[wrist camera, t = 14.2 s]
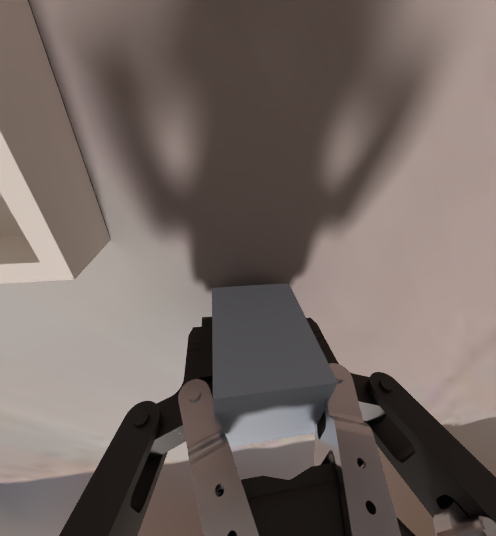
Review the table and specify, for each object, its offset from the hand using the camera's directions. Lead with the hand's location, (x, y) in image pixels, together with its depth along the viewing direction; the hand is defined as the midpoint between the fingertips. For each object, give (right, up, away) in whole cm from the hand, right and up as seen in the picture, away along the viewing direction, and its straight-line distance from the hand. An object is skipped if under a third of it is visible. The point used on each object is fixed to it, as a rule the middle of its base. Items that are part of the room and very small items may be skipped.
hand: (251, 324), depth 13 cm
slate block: (0, +1, +1) cm, 1 cm away
